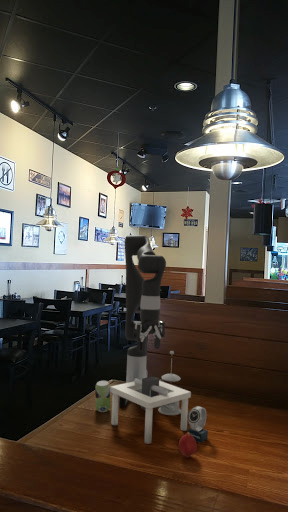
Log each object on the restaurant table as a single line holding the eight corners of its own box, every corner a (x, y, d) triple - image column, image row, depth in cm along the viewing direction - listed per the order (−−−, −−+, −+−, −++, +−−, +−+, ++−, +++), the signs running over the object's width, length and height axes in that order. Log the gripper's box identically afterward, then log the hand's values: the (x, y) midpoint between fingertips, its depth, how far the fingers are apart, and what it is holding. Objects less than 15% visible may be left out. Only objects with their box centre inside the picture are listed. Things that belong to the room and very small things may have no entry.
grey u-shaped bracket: (151, 405, 154) (153, 376, 154) (158, 407, 151) (159, 378, 152) (140, 408, 150) (142, 378, 151) (147, 410, 148) (148, 380, 148)
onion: (176, 452, 131) (177, 428, 131) (194, 452, 131) (195, 428, 131) (179, 461, 125) (180, 435, 125) (198, 461, 125) (199, 435, 126)
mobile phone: (125, 396, 170) (131, 385, 185) (118, 396, 170) (125, 384, 185) (125, 408, 170) (131, 396, 185) (118, 407, 170) (124, 395, 185)
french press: (174, 417, 161) (177, 354, 162) (149, 410, 168) (152, 350, 168) (185, 409, 170) (187, 350, 170) (161, 403, 176) (163, 346, 176)
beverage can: (111, 408, 168) (112, 379, 168) (108, 414, 161) (109, 384, 161) (96, 407, 169) (97, 378, 169) (92, 413, 161) (94, 383, 162)
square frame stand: (149, 411, 166) (151, 372, 166) (189, 429, 150) (191, 386, 150) (108, 423, 152) (110, 381, 152) (147, 444, 136) (149, 397, 136)
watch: (184, 439, 141) (185, 408, 141) (196, 433, 147) (198, 402, 147) (198, 445, 137) (199, 412, 137) (210, 437, 143) (211, 406, 143)
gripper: (156, 305, 161) (155, 345, 161) (129, 307, 151) (127, 350, 151) (170, 307, 155) (168, 349, 155) (142, 309, 145) (141, 354, 145)
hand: (148, 349), depth 153 cm, fingers open, 8 cm apart
